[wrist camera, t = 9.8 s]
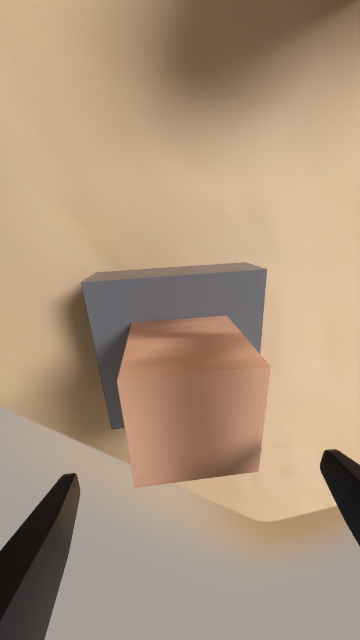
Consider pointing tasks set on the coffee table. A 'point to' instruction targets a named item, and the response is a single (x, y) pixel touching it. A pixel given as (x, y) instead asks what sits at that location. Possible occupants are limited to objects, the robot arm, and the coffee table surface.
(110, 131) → the coffee table surface
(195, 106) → the coffee table surface
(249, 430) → the terracotta cube
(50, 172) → the coffee table surface
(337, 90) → the coffee table surface
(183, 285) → the charcoal box
